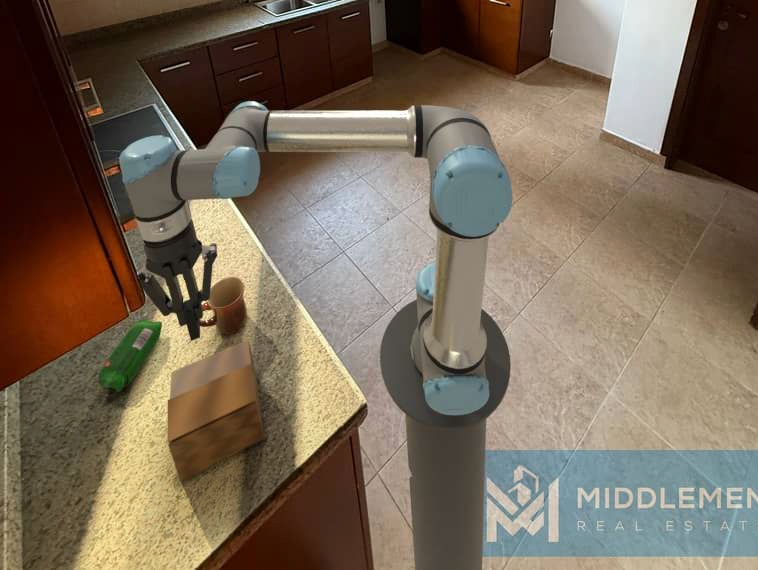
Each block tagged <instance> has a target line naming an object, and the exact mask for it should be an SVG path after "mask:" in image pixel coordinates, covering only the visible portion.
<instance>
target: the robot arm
mask: <svg viewBox="0 0 758 570" xmlns="http://www.w3.org/2000/svg"><path fill="white" fill-rule="evenodd" d="M282 152H283V153H289V152H290V153H407V154H408V155H409V156H410V157H411V158H414V159H416V158H417V159H418V158H421V159H427V163H428V164H427V165H428V169H429V201H428V202H429V203H428V204H429V205H428V216H429V219H430V221H431V223H432V224H433V225H434V227H435V228H436V242H435V243H436V246H435V261H433V262H429V263H428V264H426V265H425V266H424V267H423V268H421V269H420V270H419V272H418V274H417V276H416V281H415V282H416V283H415V288H414V289H415V292H416V299H417V313H418V326H417V328H416V330H415V332H414V334H413V338H412V342H411V354H412V360H413V363H414V366H415V368H416V370H417V371H418V373H419V374H420V375H421V376H422V377H423V389H424V392H425V399H426V402H427V404H428V405H429V406H430V407H431V408H432V409H433V410H435V411H437V412H439V413H441V414H445V415H464V414H468V413H472V412H474V411H476V410H478V409H480V408H481V407H483V406H484V405H485V404H486V402H487V401H488V398H489V381H488V380H487V378H486V372H485V354H486V344H487V338H486V333H485V330H484V327H483V325H482V324H481V322H480V319H481V309H483V298H484V290H485V289H484V287H485V280H486V279H485V277H486V268H487V257H488V249H489V240H490V239H489V238H490V237H491V236H493V235H494V234H495V232H497V230H498V229H499V226H500V223H504V222H505V221H506V219H507V218H508V217H509V214H510V212H511V209H512V207H513V198H514V197H513V195H514V194H513V189H512V183H511V178H510V175H509V172H508V170H507V167H506V166H505V165H504V163H503V161H502V160H501V158H500V156H499V154H498V151H497V149H496V146H495V144H494V142H493V139H492V136H491V134H490V132H489V129H488V127H487V126H486V125H485V124H484V122H483V121H482V120H480V119H479V118H478V116H475V115H474V114H472V113H470V112H468V111H466V110H462V109H459V108H456V107H449V106H443V105H426V104H424V105H422V104H421V105H420V104H419V105H418V104H414V105H413V104H412V105H411V106H410V107H408V108H407V110H269V109H268V108H267V107H266V106H265V105H263V104H261V103H259V102H257V101H255V100H253V101H252V100H248V101H244V102H241V103H239V104H237V106H235V108H233V110H232V111H230V112H229V113H228V114H227V116H226V117H225V118H224V121H223V123H222V125H220V127H219V129H218V131H217V132H216V133H215V134H214V136H213V137H212V139H211V140H210V141H209V142H208V145H206V147H205V148H202V149H201V148H200V149H188V150H187V149H186V150H185V149H183V150H182V149H181V150H177V147H176V145H175V143H174V141H173V139H172V138H171V137H168V136H166V135H158V134H157V135H150V136H146V137H143V138H140V139H138V140H136V141H134V142H131V144H129V145H127V146H126V148H125V149H123V150H122V152H121V153H120V155H119V165H120V166H119V167H120V171H121V175H122V178H121V181H122V183H123V184H124V188H125V190H126V193H127V195H128V198H129V202H130V204H131V207H132V210H133V211H132V212H133V216H134V220H135V223H136V226H137V230H138V233H139V236H140V238H141V244H142V246H143V250H144V253H145V257H146V259H145V265H144V266H142V267H137V268H136V269H135V270H136V272H137V275H138V279H139V281H140V283H141V286H142V288H143V289H142V288H141V289H142V290H143V291H144V292H145V294H146V295H147V297H148V298H149V300H150V301H151V302H152V303H153V304H154V306H155V307H156V309H158V311H159V312H160V314H161V316H162V315H163V317H169V316H170V315H171V314H175V315H176V318H177V322H178V325H179V326H180V327H184V326H186V328H187V331H188V335H189V339H190V342H193V341H196V340H198V339H200V338H201V326H200V322H199V319H200V320H202V319H203V316H204V311H203V308H202V305H203V302H207V301H208V300H209V298H210V289H211V288H212V277H213V265H214V263H215V261H216V259H217V258H218V246H217V245H218V244H217V243H215V242H213V243H211V244H209V245H204V244H203V242H202V241H201V240H199V238H198V236H197V232H196V228H195V224H194V220H193V218H192V210H191V208H190V203H189V201H199V200H215V199H217V200H228V199H232V198H239V197H240V198H241V197H247V196H249V195H251V194H253V193H254V191H256V189H257V187H258V184H259V178H260V174H261V161H260V156H259V153H282ZM201 255H202V256H201ZM200 256H201V259H202V260H203V272H202V273H203V274H202V285H201V289H200V290H199V286H198V283H197V279H196V276H195V271H194V267H195V265H196V263H197V262H198V260H199V258H200ZM154 274H155V275H156V276H158V277H161V278H164V282H165V284H166V287H167V289H168V291H169V292H168V293H169V295H168V293H167V292H166V291H165V289H164V288H163V287H162V286H161V284H160V283H159V282H158V280H157V279H156V277H155V276H154ZM179 275H182V278H183V281H184V284H185V286H186V291H187V294H188V299H186V300H184V295H183V293H182V288H181V285H180V281H179V277H178V276H179Z"/></svg>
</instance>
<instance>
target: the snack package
mask: <svg viewBox="0 0 758 570" xmlns="http://www.w3.org/2000/svg"><path fill="white" fill-rule="evenodd" d="M147 319H149V317H146V318H143V319H142V318H140V319H139V321H138V322H136V323H134V324H133V325H132V326H131V327H130V328H129V329H128V330H127V332H126V333H125V334H124V336H123V337H122V339H121V340H120V341H119V343H118V344H117V345H116V346H115V348H114V349H113V351H112V352H111V353H110V355H109V356H108V358H107V359H106V360H105V362H104V363H103V365H102V367H101V368H100V370H99V374H98V380H99V383H98V384H99V386H100V387H101V388H103V389H105V388H110V389H114V390H115V391H116V392H121V391H122V390H123V389H124V388H125V387H126V386H128V385H130V383H132V381H133V380H134V378H136V376H137V374H138V372H139V371H140V369H141V367H142V366H143V364H144V363H145V362H146V360H147V359H148V358H149V356H150V354H151V353H152V351H153V350H154V348H155V346H156V344H157V343H158V342H159V340H160V337H161V333H162V328H163V322H162V321H150V320H147Z"/></svg>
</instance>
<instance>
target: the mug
mask: <svg viewBox="0 0 758 570" xmlns="http://www.w3.org/2000/svg"><path fill="white" fill-rule="evenodd" d="M244 294H245V283H244V280H242V279H241V278H239V277H237V276H236V277H235V276H230V277H229V276H228V277H225V278H223V279H220V280H219V281H218V282H215V283H214V284H213V285H212V286H211V289H210V298H209V300H208V301H205V302H204V303H202V308H203V312H206V311H212V317H210V318H209V319H207V320H202V319H199V322H200V328H201V327H202V328H209V327H214V326H215V327H216V329H217V330H218V331H219V333H220V334H223V335H231V334H234V333H237V332H238V331H240V330H241V329H242V328H243V327H244V325H245V324H246V322H247V317H248V308H247V306H246V301H245V297H244Z"/></svg>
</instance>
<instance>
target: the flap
mask: <svg viewBox="0 0 758 570" xmlns="http://www.w3.org/2000/svg"><path fill="white" fill-rule="evenodd" d="M254 401H256V400H255V393H254V385H253V378H252V370H251V364H249V365H246V366H244V367H242V368H239V369H237V370H235V371H233V372H230V373H228V374H226V375H224V376H221V377H219V378H217V379H215V380H212V381H210V382H208V383H206V384H203V385H201V386H199V387H196V388H194V389H192V390H190V391H187V392H185V393H183V394H181V395H178V396H176V397H174V398H172V399H170V398H169V399H167V443H168V442H170V441H172V440H174V439H176V438H178V437H180V436H182V435H184V434H187V433H189V432H191V431H193V430H195V429H197V428H199V427H201V426H203V425H206V424H208V423H210V422H212V421H214V420H216V419H218V418H220V417H222V416H224V415H227V414H229V413H231V412H233V411H235V410H237V409H239V408H241V407H243V406H245V405H248V404H250V403H252V402H254Z"/></svg>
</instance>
